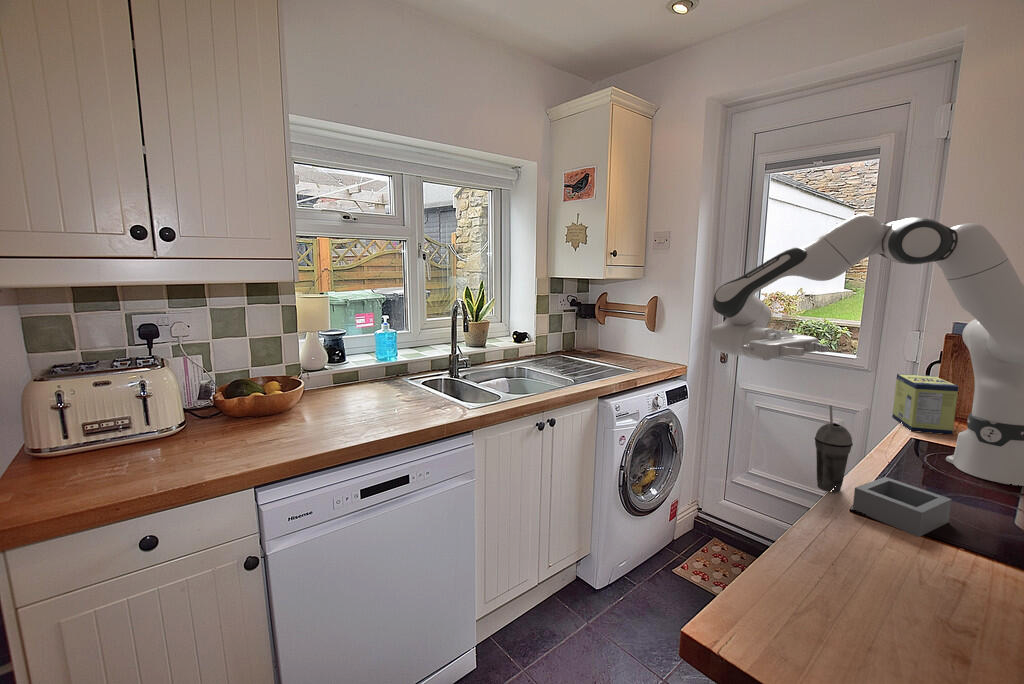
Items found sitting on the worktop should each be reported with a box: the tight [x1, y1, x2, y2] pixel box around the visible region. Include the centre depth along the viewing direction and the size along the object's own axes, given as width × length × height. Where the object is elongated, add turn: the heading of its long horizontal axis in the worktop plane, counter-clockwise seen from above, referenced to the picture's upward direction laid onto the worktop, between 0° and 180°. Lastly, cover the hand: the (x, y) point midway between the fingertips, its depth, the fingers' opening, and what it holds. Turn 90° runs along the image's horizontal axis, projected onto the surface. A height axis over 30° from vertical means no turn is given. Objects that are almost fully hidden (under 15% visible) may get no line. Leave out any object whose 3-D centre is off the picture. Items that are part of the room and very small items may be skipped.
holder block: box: [852, 476, 953, 538], centre depth 95 cm, size 12×12×5 cm
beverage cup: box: [814, 404, 853, 494], centre depth 106 cm, size 7×7×20 cm
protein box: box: [891, 373, 959, 435], centre depth 148 cm, size 10×16×16 cm
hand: (814, 350), depth 113 cm, fingers open, 8 cm apart
